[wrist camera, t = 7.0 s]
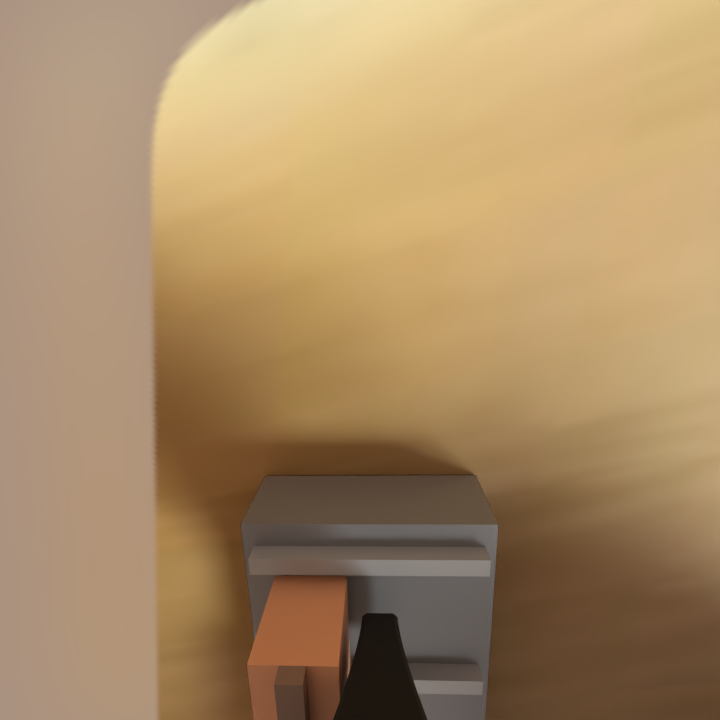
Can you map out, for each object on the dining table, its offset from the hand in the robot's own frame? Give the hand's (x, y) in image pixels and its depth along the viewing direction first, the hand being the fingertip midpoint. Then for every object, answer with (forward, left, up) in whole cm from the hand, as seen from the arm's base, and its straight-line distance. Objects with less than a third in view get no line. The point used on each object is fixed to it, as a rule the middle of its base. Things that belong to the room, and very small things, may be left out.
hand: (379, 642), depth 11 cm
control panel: (0, +7, -3) cm, 7 cm away
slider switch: (+2, 0, -1) cm, 2 cm away
